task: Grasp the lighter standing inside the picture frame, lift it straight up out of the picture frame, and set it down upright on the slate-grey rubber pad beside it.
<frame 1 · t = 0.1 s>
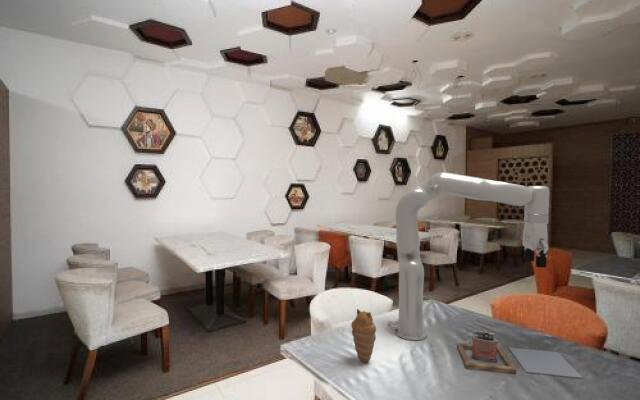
hand: (534, 264, 122), 31 cm above the table, tool pointing down, fingers open, 9 cm apart
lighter: (484, 359, 113), resting in picture frame
picture frame: (484, 359, 113), on the table
cat ice cream: (364, 362, 112), on the table
pad: (542, 362, 111), on the table
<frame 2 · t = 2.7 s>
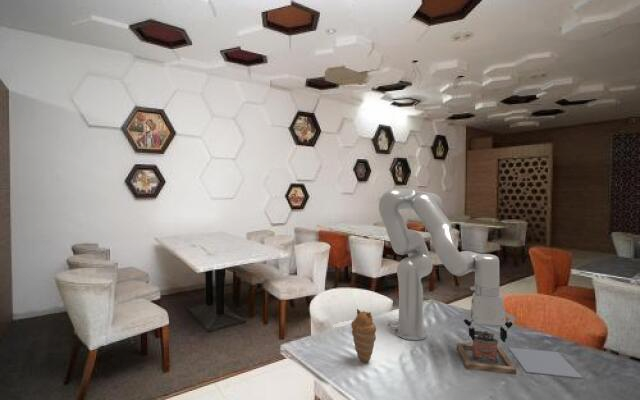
hand: (487, 339, 112), 7 cm above the table, tool pointing down, fingers open, 9 cm apart
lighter: (484, 360, 113), resting in picture frame, touching gripper
everything else where it was.
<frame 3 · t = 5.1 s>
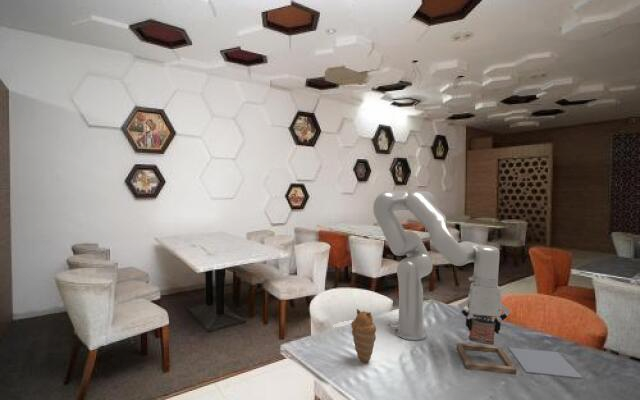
hand: (482, 330, 113), 10 cm above the table, tool pointing down, fingers closed on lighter, 8 cm apart
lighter: (481, 341, 114), point 6 cm above the table, touching gripper
everything else where it was.
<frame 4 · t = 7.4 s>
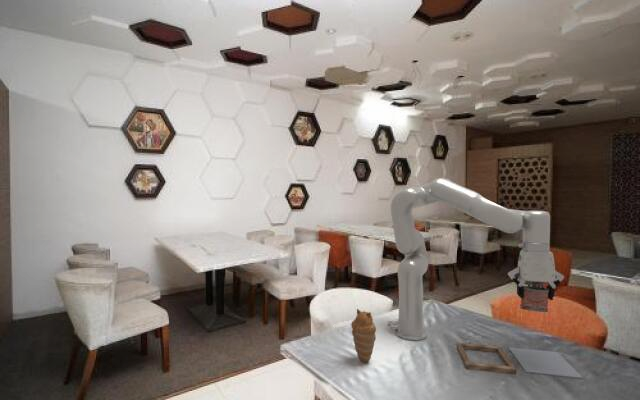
hand: (535, 297, 111), 22 cm above the table, tool pointing down, fingers closed on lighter, 8 cm apart
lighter: (533, 309, 111), point 18 cm above the table, touching gripper
everything else where it was.
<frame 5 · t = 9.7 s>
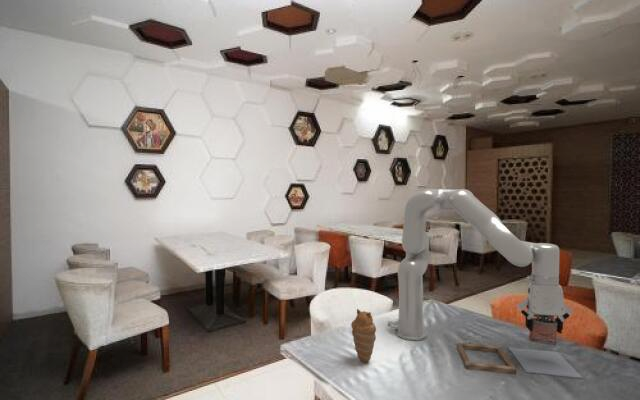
hand: (543, 330, 111), 11 cm above the table, tool pointing down, fingers closed on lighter, 8 cm apart
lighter: (542, 342, 111), point 7 cm above the table, touching gripper
everything else where it was.
when the fingers open (5 cm above the table, at t = 11.5 s): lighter stays where it is, resting on pad.
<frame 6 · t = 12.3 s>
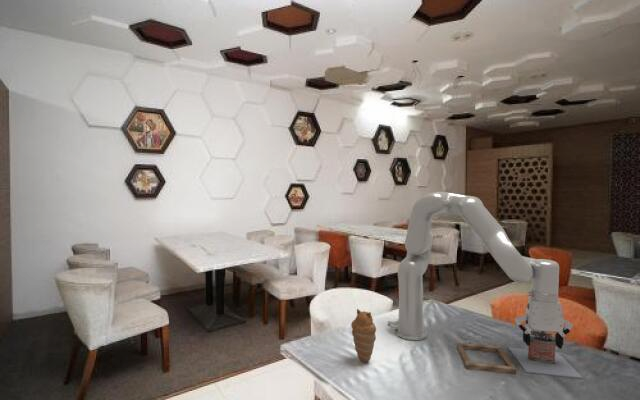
hand: (542, 345, 111), 6 cm above the table, tool pointing down, fingers open, 9 cm apart
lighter: (541, 360, 112), resting on pad
everything else where it was.
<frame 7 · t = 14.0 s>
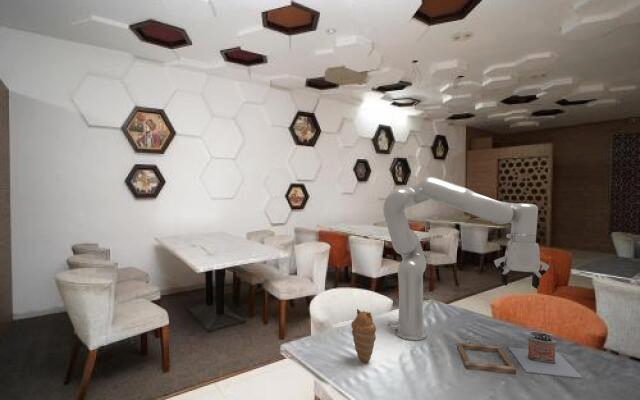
hand: (519, 285, 115), 25 cm above the table, tool pointing down, fingers open, 9 cm apart
nothing on the table moved.
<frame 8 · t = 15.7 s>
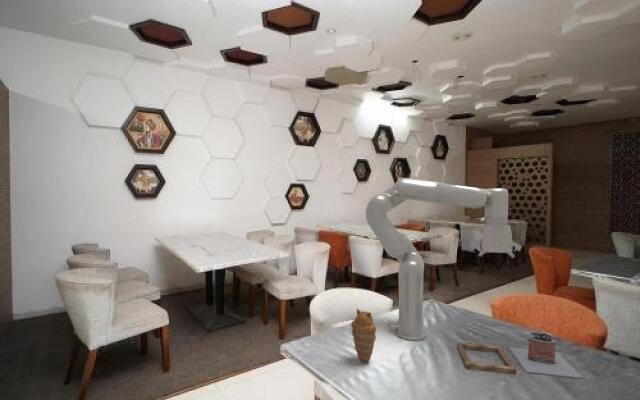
hand: (494, 266, 121), 30 cm above the table, tool pointing down, fingers open, 9 cm apart
nothing on the table moved.
at the end: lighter inside the target area on the pad (0.5 cm from its centre), point 0.2 cm above the pad's base; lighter tilted 0°; the gripper is holding nothing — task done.
